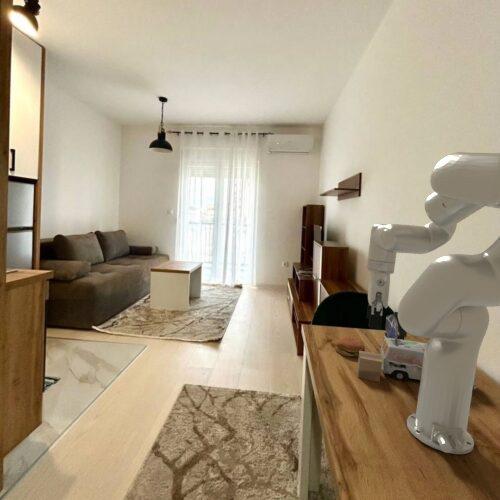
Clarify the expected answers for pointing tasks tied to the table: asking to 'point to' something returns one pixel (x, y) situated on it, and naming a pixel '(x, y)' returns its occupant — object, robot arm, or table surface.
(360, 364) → the light brown cube
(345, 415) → the table surface
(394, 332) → the decorative emblem
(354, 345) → the burger
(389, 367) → the toy car
